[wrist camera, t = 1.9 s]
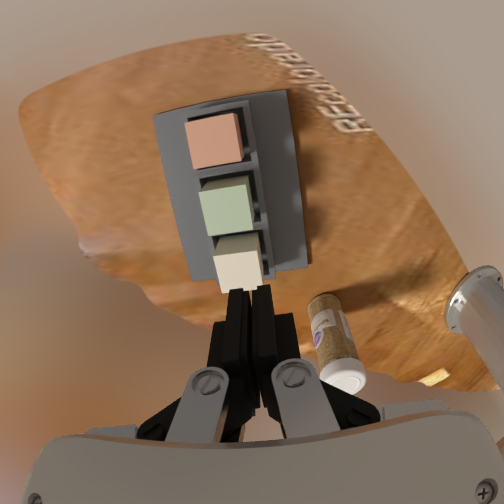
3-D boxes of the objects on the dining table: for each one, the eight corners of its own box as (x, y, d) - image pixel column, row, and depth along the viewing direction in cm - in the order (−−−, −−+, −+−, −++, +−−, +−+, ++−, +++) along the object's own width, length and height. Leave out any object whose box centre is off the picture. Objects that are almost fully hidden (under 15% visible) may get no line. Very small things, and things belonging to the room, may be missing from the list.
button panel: (285, 90, 26) (288, 86, 23) (307, 265, 35) (311, 280, 31) (154, 115, 28) (141, 115, 24) (193, 279, 36) (187, 295, 33)
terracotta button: (237, 114, 25) (233, 113, 21) (244, 154, 27) (241, 160, 23) (196, 122, 26) (184, 123, 21) (204, 162, 27) (193, 169, 23)
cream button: (257, 232, 30) (256, 250, 26) (263, 266, 32) (263, 288, 28) (219, 237, 31) (213, 256, 26) (227, 270, 32) (222, 293, 28)
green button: (248, 174, 28) (245, 184, 24) (254, 213, 29) (253, 229, 25) (207, 181, 28) (198, 192, 24) (215, 219, 30) (208, 236, 26)
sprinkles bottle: (309, 292, 36) (326, 372, 24) (343, 292, 36) (373, 369, 24) (305, 320, 38) (318, 401, 26) (337, 320, 38) (360, 398, 26)
